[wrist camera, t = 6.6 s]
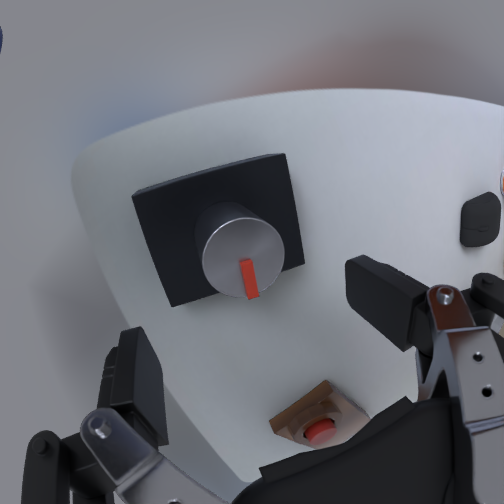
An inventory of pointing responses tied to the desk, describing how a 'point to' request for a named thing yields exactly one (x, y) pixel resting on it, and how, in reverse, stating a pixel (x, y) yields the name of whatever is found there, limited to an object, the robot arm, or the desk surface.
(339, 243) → the desk surface
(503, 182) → the pill bottle
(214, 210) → the silver rotary knob
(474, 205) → the computer mouse
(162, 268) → the knob base
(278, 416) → the button block
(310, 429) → the button
